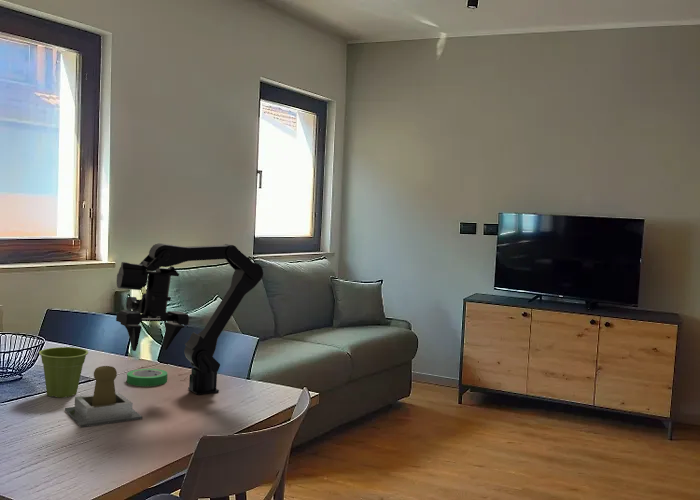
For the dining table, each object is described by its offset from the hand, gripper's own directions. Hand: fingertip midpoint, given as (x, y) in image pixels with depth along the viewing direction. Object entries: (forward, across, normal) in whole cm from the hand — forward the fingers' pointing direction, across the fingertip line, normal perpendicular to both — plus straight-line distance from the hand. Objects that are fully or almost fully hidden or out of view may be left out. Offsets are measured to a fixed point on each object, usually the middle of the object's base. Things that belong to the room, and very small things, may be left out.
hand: (149, 350), depth 183 cm
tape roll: (+12, -9, -13) cm, 20 cm away
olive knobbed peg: (+13, +15, +8) cm, 21 cm away
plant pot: (+14, +15, -14) cm, 25 cm away
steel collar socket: (+14, +15, +8) cm, 22 cm away
